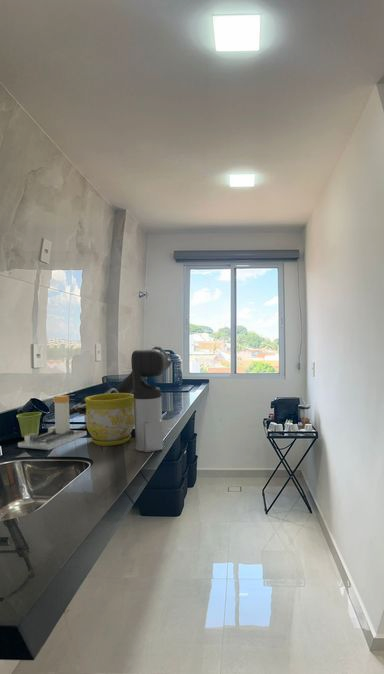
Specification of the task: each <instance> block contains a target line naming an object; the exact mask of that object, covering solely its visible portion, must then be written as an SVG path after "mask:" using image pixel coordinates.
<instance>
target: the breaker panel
mask: <svg viewBox="0 0 384 674" xmlns="http://www.w3.org/2000/svg"><path fill="white" fill-rule="evenodd" d="M87 432H88V430H78V429H77V430H73V429H70V431H68V432H65V433H62V434H58V433H56V428H55V425H53V426H50V427H48V428H47V432H45V433H42V434H40V435H37V433H31V434H28V435H25V438H24V440H22V441H19V442H17V447H18V448H21V449H22V448H23V449H34V450H35V449H36V450H46V451H50V450H52V449H54V448H57V447H60V446H62V445H65V444H67V443H69V442H72V441H74V440H78V439H81V438H82V437H85V436H87V435H88V433H87Z"/></svg>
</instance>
